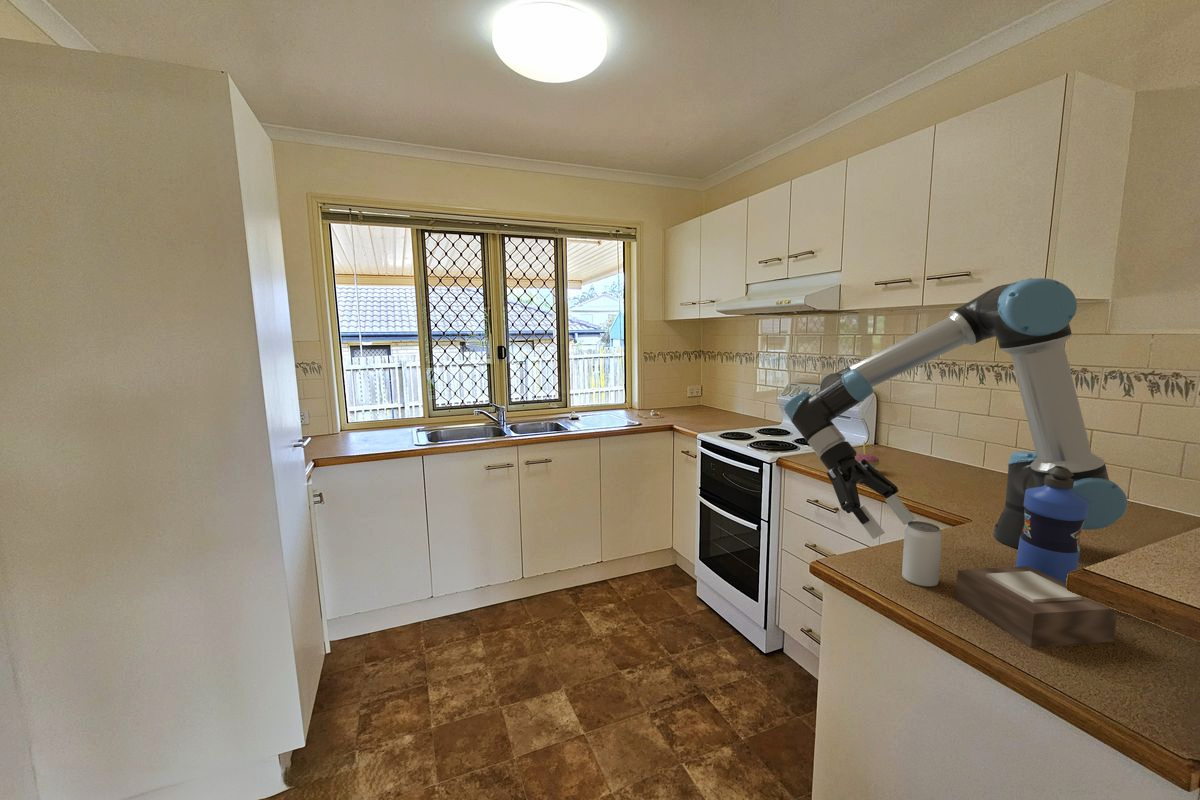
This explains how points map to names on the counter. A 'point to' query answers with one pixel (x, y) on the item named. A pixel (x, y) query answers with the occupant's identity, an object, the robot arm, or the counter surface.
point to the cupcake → (867, 458)
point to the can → (922, 554)
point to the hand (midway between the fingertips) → (895, 528)
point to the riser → (1035, 607)
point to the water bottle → (1052, 525)
